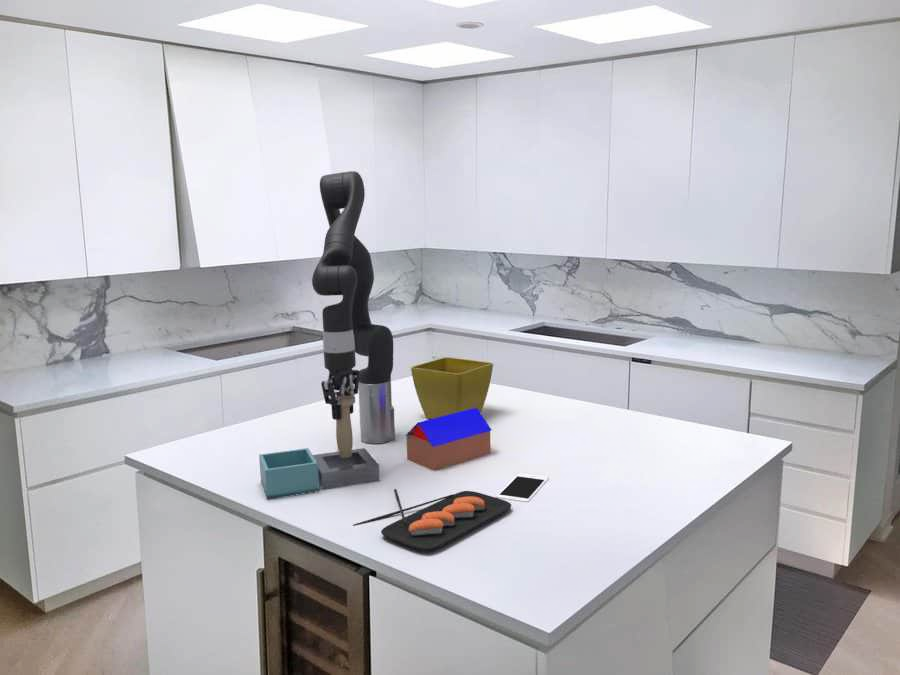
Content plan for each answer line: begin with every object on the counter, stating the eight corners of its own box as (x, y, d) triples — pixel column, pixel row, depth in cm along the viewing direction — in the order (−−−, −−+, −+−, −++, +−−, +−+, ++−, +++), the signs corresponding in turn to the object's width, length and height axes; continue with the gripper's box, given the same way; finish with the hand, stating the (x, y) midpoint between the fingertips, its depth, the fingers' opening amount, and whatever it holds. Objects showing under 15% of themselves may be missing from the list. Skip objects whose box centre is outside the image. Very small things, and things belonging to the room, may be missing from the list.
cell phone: (549, 479, 183) (549, 477, 183) (528, 504, 169) (528, 501, 169) (518, 475, 187) (518, 473, 187) (495, 499, 172) (495, 496, 172)
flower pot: (446, 405, 250) (445, 356, 247) (495, 414, 239) (494, 362, 236) (410, 419, 235) (409, 367, 232) (460, 429, 224) (459, 374, 221)
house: (405, 460, 199) (404, 417, 197) (463, 443, 211) (462, 403, 209) (433, 472, 190) (432, 427, 188) (492, 454, 202) (491, 412, 200)
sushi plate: (428, 560, 144) (427, 542, 143) (325, 520, 163) (324, 504, 162) (517, 511, 165) (517, 495, 165) (416, 481, 185) (416, 466, 184)
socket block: (365, 462, 197) (364, 448, 196) (379, 480, 184) (378, 465, 183) (311, 470, 192) (310, 455, 192) (322, 489, 179) (321, 473, 179)
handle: (352, 460, 184) (349, 401, 181) (329, 458, 186) (325, 399, 184) (361, 454, 189) (358, 396, 186) (338, 451, 191) (335, 394, 188)
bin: (309, 474, 189) (308, 448, 188) (319, 491, 178) (317, 463, 177) (260, 481, 185) (259, 454, 184) (267, 499, 174) (265, 470, 173)
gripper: (336, 355, 174) (340, 426, 178) (367, 343, 187) (371, 409, 190) (309, 353, 177) (313, 423, 181) (341, 341, 190) (345, 407, 193)
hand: (343, 415), depth 186 cm, fingers closed on handle, 5 cm apart
